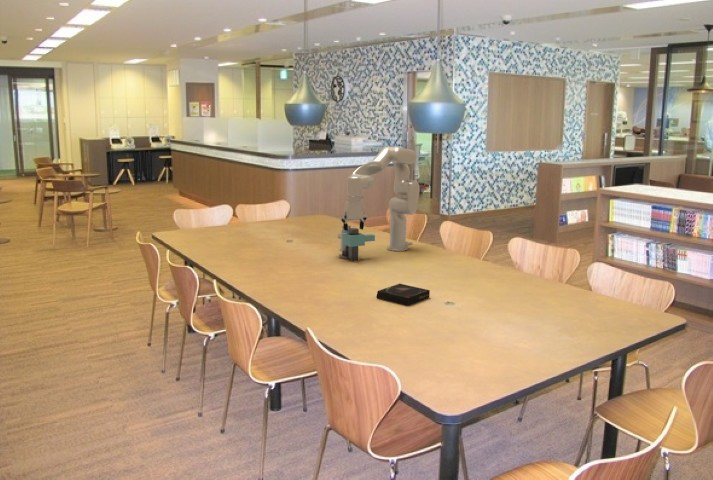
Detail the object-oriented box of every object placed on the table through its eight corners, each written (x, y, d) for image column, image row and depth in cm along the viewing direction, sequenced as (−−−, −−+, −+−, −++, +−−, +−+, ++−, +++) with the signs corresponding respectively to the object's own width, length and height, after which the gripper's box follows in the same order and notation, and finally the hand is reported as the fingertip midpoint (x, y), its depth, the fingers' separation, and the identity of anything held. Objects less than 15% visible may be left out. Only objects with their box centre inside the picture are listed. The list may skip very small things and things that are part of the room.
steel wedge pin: (354, 259, 349) (355, 227, 346) (358, 260, 346) (358, 228, 342) (348, 260, 347) (348, 228, 344) (351, 261, 344) (352, 229, 340)
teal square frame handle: (369, 241, 355) (369, 230, 353) (377, 244, 347) (377, 233, 345) (342, 243, 347) (342, 233, 346) (349, 246, 339) (349, 236, 338)
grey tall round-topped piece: (350, 254, 361) (350, 223, 357) (358, 258, 352) (358, 226, 349) (334, 256, 356) (334, 225, 353) (342, 259, 348) (342, 228, 344)
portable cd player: (398, 291, 288) (398, 283, 288) (429, 298, 278) (429, 290, 277) (376, 299, 276) (376, 290, 275) (407, 307, 265) (408, 298, 265)
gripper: (364, 197, 347) (364, 227, 350) (336, 198, 339) (336, 229, 342) (371, 199, 340) (370, 229, 344) (342, 200, 333) (342, 232, 336)
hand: (353, 229), depth 343 cm, fingers open, 9 cm apart
